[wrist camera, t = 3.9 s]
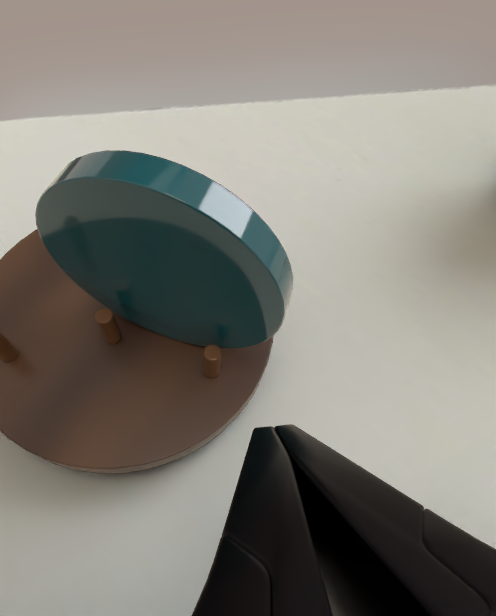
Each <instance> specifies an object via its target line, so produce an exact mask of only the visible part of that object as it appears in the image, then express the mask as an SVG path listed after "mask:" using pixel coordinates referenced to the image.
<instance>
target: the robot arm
mask: <svg viewBox="0 0 496 616" xmlns="http://www.w3.org/2000/svg"><path fill="white" fill-rule="evenodd" d="M192 616H496V549H494V548H492V547H491V546H489V545H487V544H485V543H483V542H482V541H480V540H478V539H476V538H475V537H473V536H471V535H470V534H468V533H466V532H465V531H463V530H461V529H460V528H458V527H456V526H455V525H453V524H451V523H450V522H448V521H446V520H445V519H443V518H442V517H440V516H438V515H437V514H435V513H434V512H432V511H430V510H429V509H425V510H424V507H423V506H422V505H421V504H419V503H417V502H416V501H414V500H413V499H411V498H409V497H408V496H406V495H405V494H403V493H401V492H400V491H398V490H397V489H395V488H393V487H392V486H390V485H389V484H387V483H386V482H384V481H382V480H381V479H379V478H378V477H376V476H374V475H373V474H371V473H370V472H368V471H366V470H365V469H363V468H362V467H360V466H358V465H357V464H355V463H354V462H352V461H350V460H349V459H347V458H346V457H344V456H343V455H341V454H339V453H338V452H336V451H335V450H333V449H331V448H330V447H328V446H327V445H325V444H323V443H322V442H320V441H319V440H317V439H315V438H314V437H312V436H311V435H309V434H307V433H306V432H304V431H303V430H301V429H299V428H298V427H296V426H295V425H281V426H276V427H275V428H273V427H260V428H255V429H254V430H253V433H252V436H251V440H250V443H249V446H248V450H247V453H246V456H245V460H244V463H243V466H242V470H241V473H240V476H239V480H238V483H237V486H236V490H235V493H234V496H233V500H232V503H231V506H230V510H229V513H228V516H227V520H226V523H225V526H224V530H223V533H222V537H221V539H220V542H219V545H218V549H217V552H216V555H215V558H214V561H213V564H212V567H211V570H210V573H209V575H208V578H207V581H206V584H205V586H204V588H203V591H202V593H201V595H200V598H199V600H198V602H197V605H196V607H195V609H194V612H193V614H192Z"/></svg>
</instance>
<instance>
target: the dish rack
mask: <svg viewBox="0 0 496 616" xmlns="http://www.w3.org/2000/svg"><path fill="white" fill-rule="evenodd" d="M35 215H36V225H37V228H38V229H37V230H35V231H34V232H32V233H31V234H29V235H28V236H27V237H25V238H24V239H22V240H21V241H20V242H18V243H17V244H16V245H15V246H14V247H13V248H12V249H11V250H9V251H8V252H7V253H6V254H5V255H4V256H3V257H2V259H1V260H0V431H1V432H2V433H3V434H4V435H5V436H6V437H7V438H9V439H10V440H12V441H13V442H15V443H16V444H18V445H19V446H21V447H22V448H24V449H25V450H27V451H29V452H31V453H33V454H35V455H37V456H39V457H41V458H43V459H45V460H48V461H50V462H52V463H54V464H57V465H60V466H64V467H67V468H71V469H74V470H79V471H87V472H94V473H125V472H133V471H140V470H146V469H149V468H153V467H156V466H160V465H164V464H167V463H169V462H172V461H174V460H176V459H179V458H181V457H184V456H186V455H188V454H190V453H191V452H193V451H195V450H197V449H198V448H200V447H202V446H203V445H205V444H207V443H208V442H209V441H211V440H212V439H213V438H215V437H216V436H217V435H218V434H220V433H221V432H222V431H223V430H224V429H225V428H226V427H227V426H228V425H229V424H230V423H231V422H232V421H233V420H234V419H235V418H236V417H237V416H238V415H239V414H240V413H241V411H242V410H243V409H244V407H245V406H246V405H247V403H248V402H249V401H250V399H251V397H252V395H253V394H254V392H255V390H256V388H257V387H258V385H259V383H260V380H261V378H262V375H263V372H264V370H265V367H266V365H267V362H268V359H269V355H270V351H271V347H272V343H273V335H274V334H275V333H276V332H277V331H278V330H279V328H280V326H281V325H282V323H283V320H284V317H285V314H286V310H287V307H288V304H289V301H290V298H291V294H292V289H293V275H292V270H291V265H290V262H289V260H288V257H287V254H286V252H285V250H284V248H283V247H282V245H281V243H280V241H279V240H278V238H277V237H276V235H275V234H274V233H273V231H272V230H271V229H270V227H269V226H268V225H267V224H266V223H265V222H264V221H263V220H262V219H261V217H260V216H259V215H258V214H257V213H256V212H255V211H254V210H253V209H251V208H250V207H249V206H248V205H247V204H246V203H244V202H243V201H242V200H241V199H240V198H238V197H237V196H236V195H234V194H233V193H231V192H230V191H229V190H227V189H226V188H224V187H223V186H222V185H220V184H218V183H216V182H215V181H213V180H211V179H210V178H208V177H206V176H204V175H203V174H200V173H198V172H196V171H194V170H192V169H190V168H188V167H186V166H183V165H181V164H178V163H175V162H172V161H170V160H167V159H164V158H160V157H156V156H152V155H148V154H144V153H138V152H130V151H101V152H95V153H90V154H87V155H84V156H82V157H79V158H77V159H75V160H74V161H72V162H70V163H69V164H68V165H67V166H66V167H65V168H64V169H63V170H62V171H61V172H60V173H59V175H58V176H57V177H56V178H55V179H54V181H53V182H52V183H51V184H50V185H49V187H48V188H47V189H46V190H45V191H44V193H43V194H42V195H41V197H40V199H39V201H38V203H37V208H36V214H35Z"/></svg>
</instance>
